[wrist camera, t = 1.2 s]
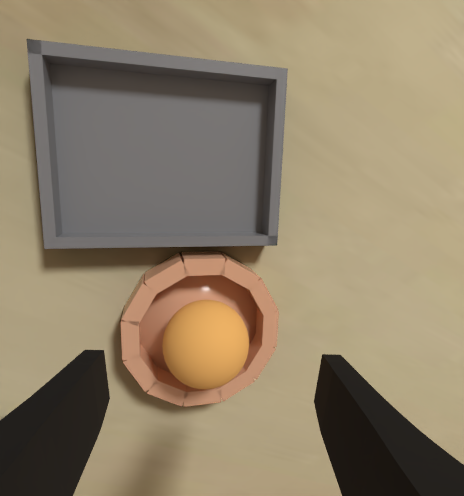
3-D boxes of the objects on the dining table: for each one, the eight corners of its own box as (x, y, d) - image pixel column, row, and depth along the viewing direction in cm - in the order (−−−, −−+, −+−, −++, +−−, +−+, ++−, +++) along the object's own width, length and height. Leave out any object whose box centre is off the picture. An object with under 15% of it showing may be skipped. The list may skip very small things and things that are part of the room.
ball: (236, 356, 23) (258, 403, 18) (161, 362, 22) (164, 415, 17) (238, 286, 22) (262, 317, 17) (161, 290, 21) (163, 323, 16)
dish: (264, 378, 24) (273, 395, 22) (126, 393, 22) (124, 414, 20) (271, 250, 22) (282, 257, 20) (121, 253, 20) (118, 261, 18)
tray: (267, 240, 22) (277, 245, 20) (54, 242, 19) (44, 248, 18) (276, 78, 20) (287, 68, 18) (39, 52, 17) (26, 38, 16)
